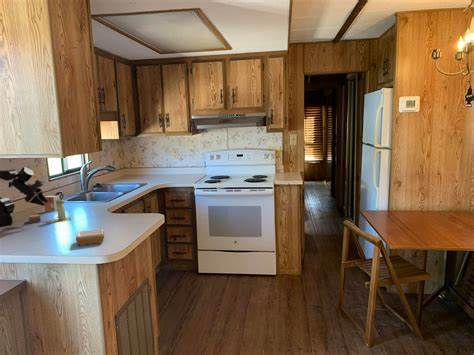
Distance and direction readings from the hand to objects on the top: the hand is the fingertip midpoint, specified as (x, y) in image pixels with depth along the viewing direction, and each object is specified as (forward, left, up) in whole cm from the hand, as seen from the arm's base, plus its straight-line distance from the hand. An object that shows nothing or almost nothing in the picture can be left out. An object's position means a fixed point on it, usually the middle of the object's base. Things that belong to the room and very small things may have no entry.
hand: (46, 203), depth 210 cm
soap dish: (+19, -57, -12) cm, 61 cm away
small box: (+3, +33, -12) cm, 35 cm away
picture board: (+7, +3, -11) cm, 13 cm away
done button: (-7, +4, -9) cm, 12 cm away
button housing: (-7, +4, -11) cm, 14 cm away
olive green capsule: (+8, -1, -11) cm, 13 cm away
